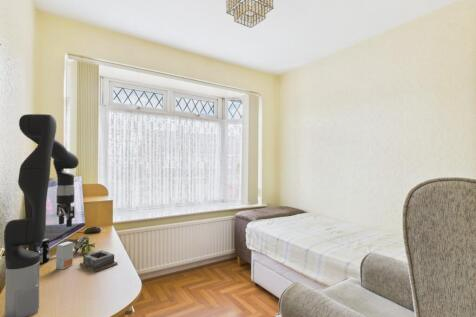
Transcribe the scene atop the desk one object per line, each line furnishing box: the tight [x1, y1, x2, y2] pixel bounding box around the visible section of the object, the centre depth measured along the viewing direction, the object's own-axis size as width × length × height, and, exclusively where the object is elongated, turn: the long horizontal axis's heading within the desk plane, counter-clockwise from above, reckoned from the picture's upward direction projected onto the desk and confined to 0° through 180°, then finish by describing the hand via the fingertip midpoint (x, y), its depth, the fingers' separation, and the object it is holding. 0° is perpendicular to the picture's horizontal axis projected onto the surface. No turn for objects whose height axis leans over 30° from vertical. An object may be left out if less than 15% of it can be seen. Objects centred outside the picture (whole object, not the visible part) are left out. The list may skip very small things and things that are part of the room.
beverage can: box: [39, 237, 51, 265], centre depth 133 cm, size 7×7×12 cm
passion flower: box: [72, 234, 96, 256], centre depth 148 cm, size 11×11×12 cm
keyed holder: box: [79, 249, 119, 273], centre depth 130 cm, size 16×11×5 cm
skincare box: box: [55, 241, 74, 270], centre depth 127 cm, size 6×4×12 cm
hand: (65, 225), depth 128 cm, fingers open, 8 cm apart
